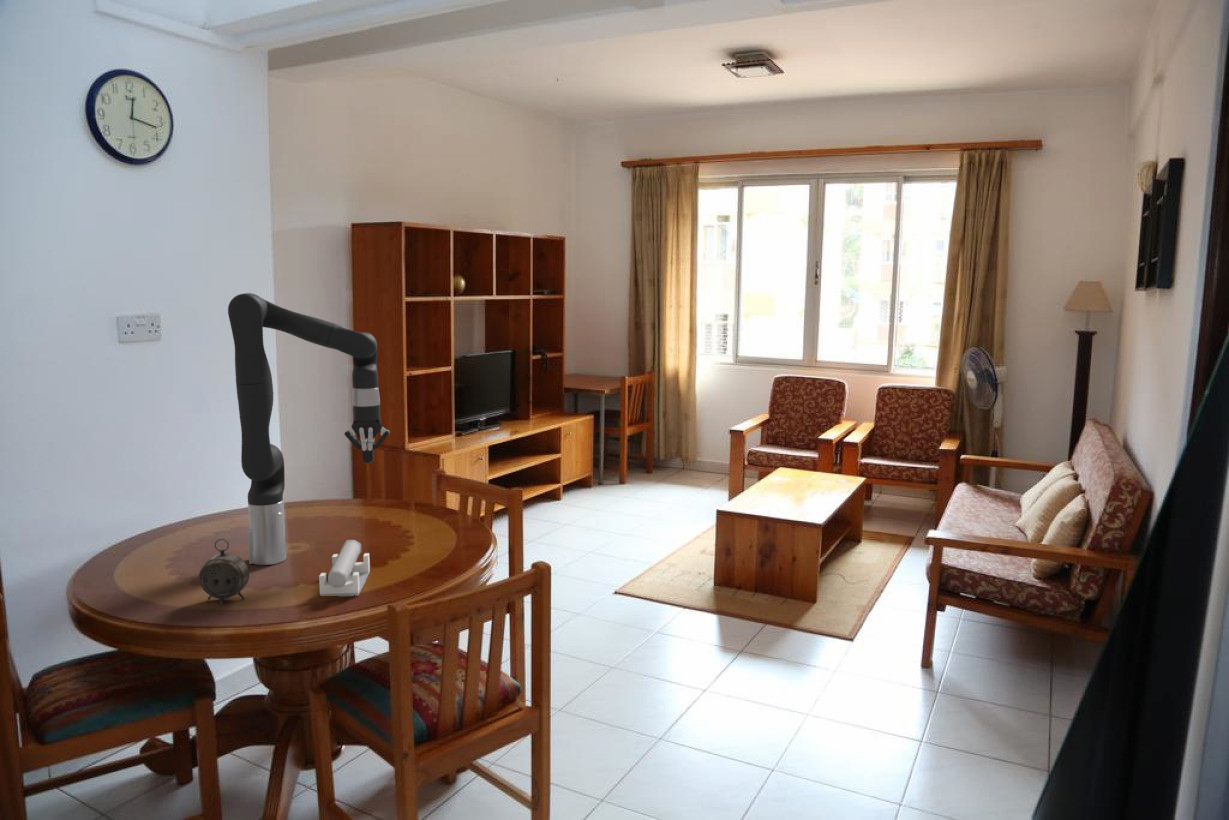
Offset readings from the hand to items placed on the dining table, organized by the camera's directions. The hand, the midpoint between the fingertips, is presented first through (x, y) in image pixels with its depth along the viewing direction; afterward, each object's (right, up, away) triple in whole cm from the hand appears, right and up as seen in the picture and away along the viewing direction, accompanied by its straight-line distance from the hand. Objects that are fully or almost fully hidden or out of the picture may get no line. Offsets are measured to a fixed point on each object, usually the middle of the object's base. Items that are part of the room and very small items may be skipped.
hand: (368, 462), depth 250 cm
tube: (0, -28, -21) cm, 35 cm away
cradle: (0, -31, -21) cm, 37 cm away
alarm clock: (-26, -33, -33) cm, 54 cm away
